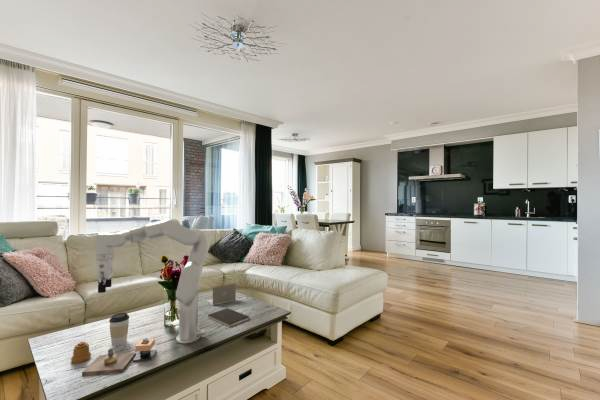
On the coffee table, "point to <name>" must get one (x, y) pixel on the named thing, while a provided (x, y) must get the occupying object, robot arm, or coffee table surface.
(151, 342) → the square peach frame
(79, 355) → the ornamental finial
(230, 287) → the laptop
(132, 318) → the coffee table surface
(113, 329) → the coffee cup
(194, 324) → the robot arm
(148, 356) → the stand
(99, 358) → the toggle switch
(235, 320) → the hardcover book
